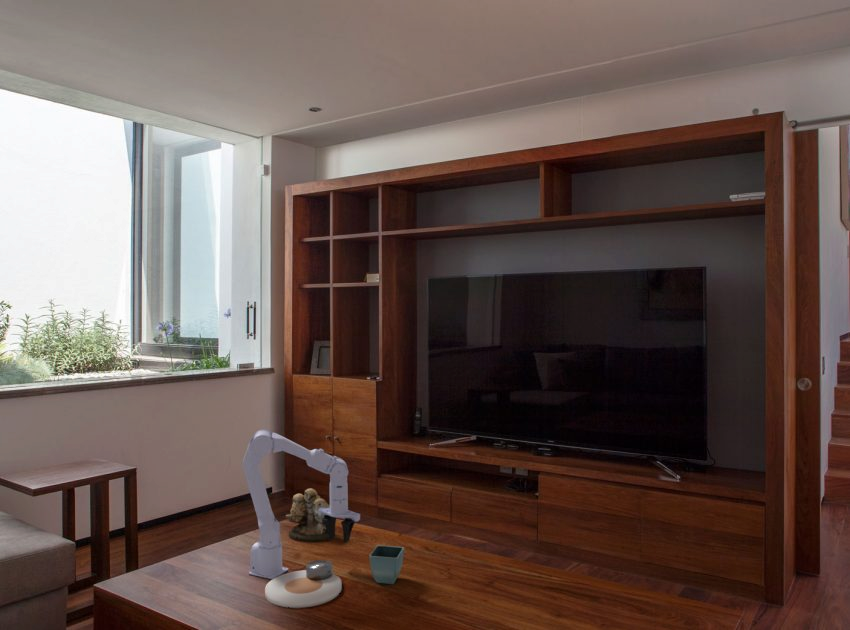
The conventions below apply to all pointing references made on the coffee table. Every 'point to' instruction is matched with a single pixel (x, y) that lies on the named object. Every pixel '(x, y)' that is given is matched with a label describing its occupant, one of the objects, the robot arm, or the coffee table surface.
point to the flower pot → (386, 563)
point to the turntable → (301, 590)
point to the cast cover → (319, 570)
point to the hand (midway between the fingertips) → (339, 540)
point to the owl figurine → (308, 517)
